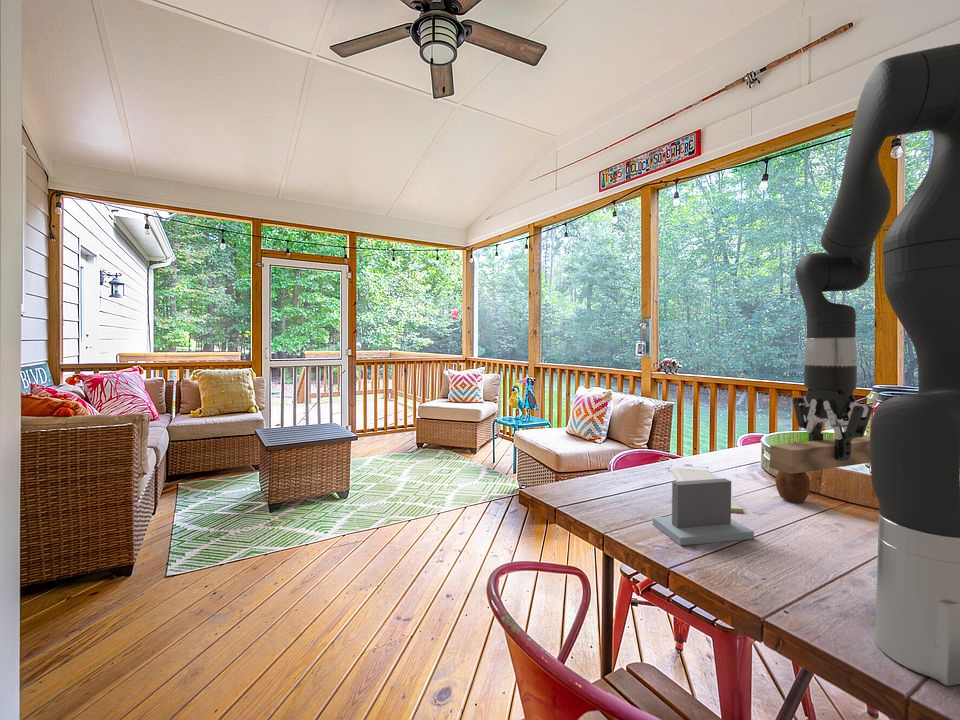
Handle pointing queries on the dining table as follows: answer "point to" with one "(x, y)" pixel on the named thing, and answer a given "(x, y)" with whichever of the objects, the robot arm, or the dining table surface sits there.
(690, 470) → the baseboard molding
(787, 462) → the walnut bar
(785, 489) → the wooden figurine
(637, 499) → the dining table surface
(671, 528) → the fulcrum board
